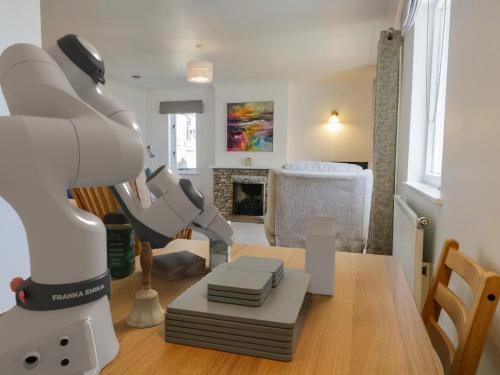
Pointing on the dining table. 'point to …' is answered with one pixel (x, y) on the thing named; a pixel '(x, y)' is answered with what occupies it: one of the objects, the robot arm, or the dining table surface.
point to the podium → (178, 265)
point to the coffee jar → (119, 244)
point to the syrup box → (218, 252)
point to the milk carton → (320, 253)
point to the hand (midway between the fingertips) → (222, 241)
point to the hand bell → (146, 296)
